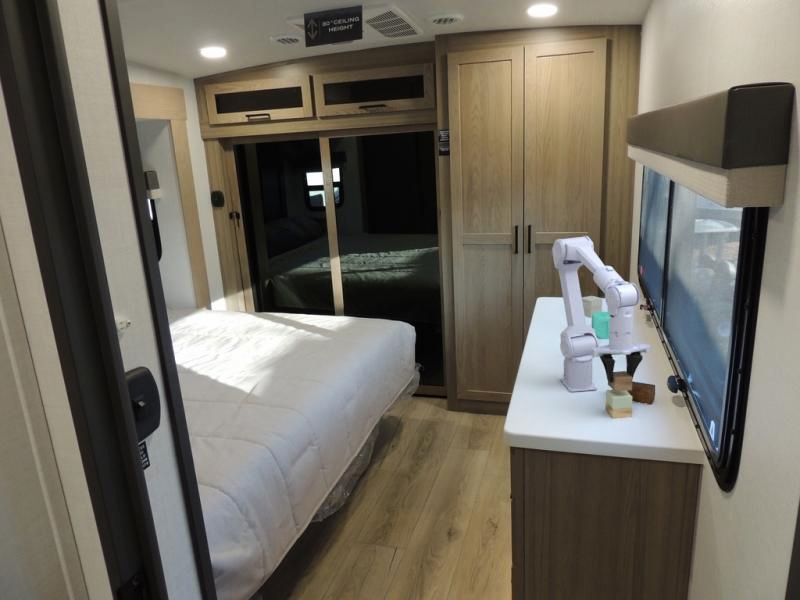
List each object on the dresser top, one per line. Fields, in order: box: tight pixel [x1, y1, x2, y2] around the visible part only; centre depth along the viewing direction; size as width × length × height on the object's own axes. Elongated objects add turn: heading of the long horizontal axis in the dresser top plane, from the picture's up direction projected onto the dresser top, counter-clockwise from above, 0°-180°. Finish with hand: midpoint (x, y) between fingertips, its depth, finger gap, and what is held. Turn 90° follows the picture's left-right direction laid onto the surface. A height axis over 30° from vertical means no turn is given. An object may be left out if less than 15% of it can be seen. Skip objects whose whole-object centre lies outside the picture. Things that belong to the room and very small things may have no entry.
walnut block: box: [607, 370, 634, 391], centre depth 152 cm, size 4×4×4 cm
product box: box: [582, 295, 603, 319], centre depth 240 cm, size 6×6×7 cm
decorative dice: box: [591, 311, 610, 340], centre depth 214 cm, size 8×8×8 cm
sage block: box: [605, 389, 633, 409], centre depth 153 cm, size 5×5×3 cm
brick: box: [611, 380, 656, 405], centre depth 162 cm, size 11×4×5 cm, turn 55°
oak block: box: [605, 400, 633, 419], centre depth 154 cm, size 5×5×3 cm
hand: (619, 380), depth 152 cm, fingers closed on walnut block, 4 cm apart
